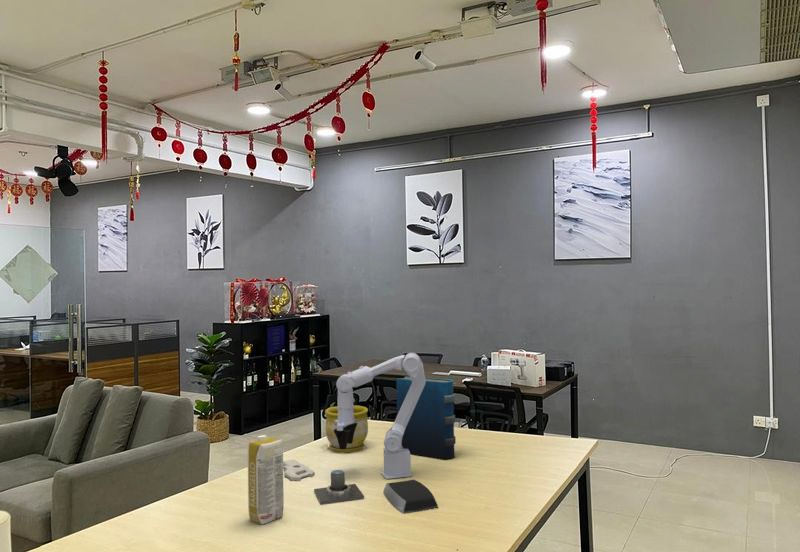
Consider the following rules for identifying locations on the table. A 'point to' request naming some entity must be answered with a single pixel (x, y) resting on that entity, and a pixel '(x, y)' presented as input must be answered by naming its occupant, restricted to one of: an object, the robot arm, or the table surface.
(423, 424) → the book
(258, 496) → the juice carton
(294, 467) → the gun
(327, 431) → the flowerpot
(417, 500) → the external hard drive
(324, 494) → the metal base plate
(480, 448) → the table surface
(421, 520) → the table surface
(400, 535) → the table surface
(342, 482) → the blue-grey cylinder
